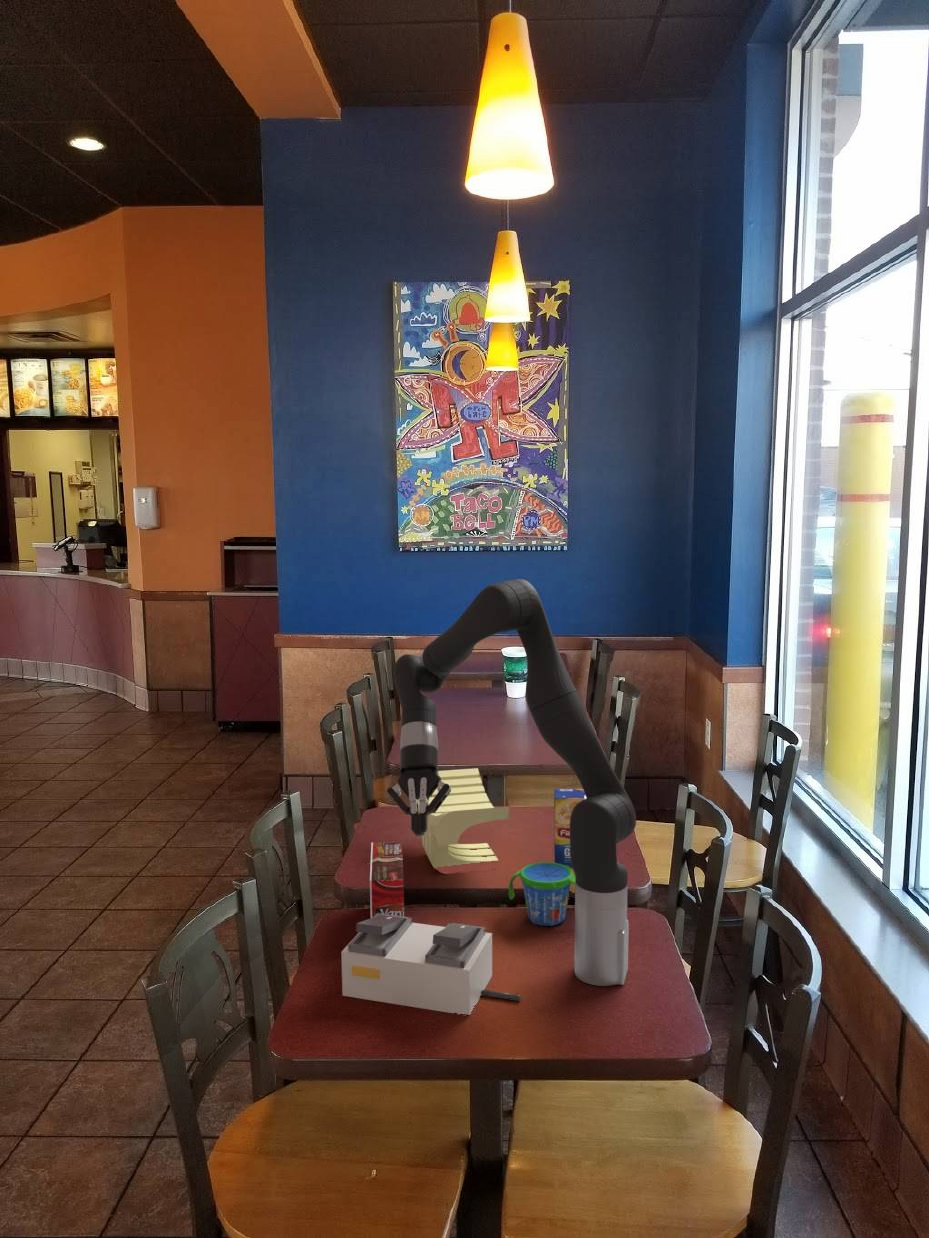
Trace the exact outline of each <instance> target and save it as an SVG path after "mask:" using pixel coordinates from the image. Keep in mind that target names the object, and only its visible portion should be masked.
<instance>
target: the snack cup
mask: <svg viewBox="0 0 929 1238" xmlns="http://www.w3.org/2000/svg"><path fill="white" fill-rule="evenodd" d="M516 877H519V879H520V880H521V883H522V886H523V892H524V899H525V905H526V911H527V912H526V913H527V916H528V919H529V920H530V921H531V922H532V923H533V924H534V925H538V926H542V927H543V926H550V927H553V926H556V925H559V924H561V923H562V922H564V921H565V919H566V915H567V908H568V903H569V898H568V897H569V890H570V884H571V883H574V884H575V876H574V875H573V873H572V870H571V869H570V868H568V867H567V866H565V865H562V864H558V863H554V862H550V861H548V862H546V861H544V862H534V863H531V864H528V865H526V866H523V867H522V869H520V870H517V871H516V872H515V873H514V874H513V875H512V877H510V880H509V884H508V897H509V900H512V901H513V899H514V898H515V895H516V894H515V891H514V881H515V880H516Z"/></svg>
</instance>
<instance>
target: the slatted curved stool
mask: <svg viewBox="0 0 929 1238" xmlns="http://www.w3.org/2000/svg"><path fill="white" fill-rule="evenodd" d="M438 774H439V776H440V778H441V781H442V782H443V783H445V784H448V785H449V786H450V788H451V792H450V793H449V795H448V796H447V797H446V799H445V800H444V801H443V803H442V804H441V806H440V807H439V808H438V810H437V811H436V812H435V813H430V814H428V816H427V831H426V832H424V835H421V845H422V848H423V849H424V852H425V853H426V855H427V857H428V860H429V862H430V864H431V865H432V867H433V869H434V868H437V867H444V866H452V865H461V864H470V863H480V862H491V861H499V859H498V857H497V855H496V854H495V853H494V851H493V850H492V848H491V847H490V846H489V843H488V842H487V843H486V842H484V843H459V840H460V837H461V835H462V834H463V833H464V832H465V831H466V830H467V829H469V828H471V827H473V826H475V825H479V824H483V823H489V822H494V821H503V820H510V806H503V807H502V806H499V807H495V806H493V804H492V802H490V799H489V797H488V794H487V793H486V790H485V787H484V785H483V781H482V778H481V776H480V775H481V774H480V771H479V768H478V767H476V768H462V769H449V770H447V769H446V770H438ZM438 787H439V786H438ZM438 787H437V788H436V790H435V791H434V793H433V794H432V796H431V797H429V804H430V803H431V801H432V800H433V799H434V797H435V796H436V795H437V793H438ZM419 808H420V799H419ZM488 848H490V849H488ZM470 849H477V850H470ZM493 855H495V856H493ZM482 856H487V857H482Z"/></svg>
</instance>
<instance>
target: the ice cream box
mask: <svg viewBox="0 0 929 1238" xmlns="http://www.w3.org/2000/svg"><path fill="white" fill-rule="evenodd" d="M370 843H371V844H370V845H371V846H370V847H371V848H370V850H371V851H370V868H369V869H370V871H369V897H370V898H369V900H370V903H369V905H370V908H369V909H370V919H371V918H373V917H374V916H375V915H376V914H377V913H380V914H388V915H396V916H403V917H405V892H404V889H405V887H404V886H405V885H404V883H405V882H404V862H403V861H404V859H403V842H402V841H379V842H378V841H377V842H373V841H372V842H370Z"/></svg>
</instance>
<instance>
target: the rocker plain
mask: <svg viewBox="0 0 929 1238" xmlns="http://www.w3.org/2000/svg"><path fill="white" fill-rule="evenodd" d="M458 924H459V923H456V924H452V925H450V926H448V927H446V926H445V927H446V928H445V929H443V930H441V931H439V932H438V933H436V934H434V935H433V944H439V945H446V946H453V947H461V946H463V945H464V944H466V943H467V942H469V941H470V940H472V939H473V938H475V937H476V936H477V934H478V927H473V926H474V925H471V926H465V925H466V924H464V925H458Z"/></svg>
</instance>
